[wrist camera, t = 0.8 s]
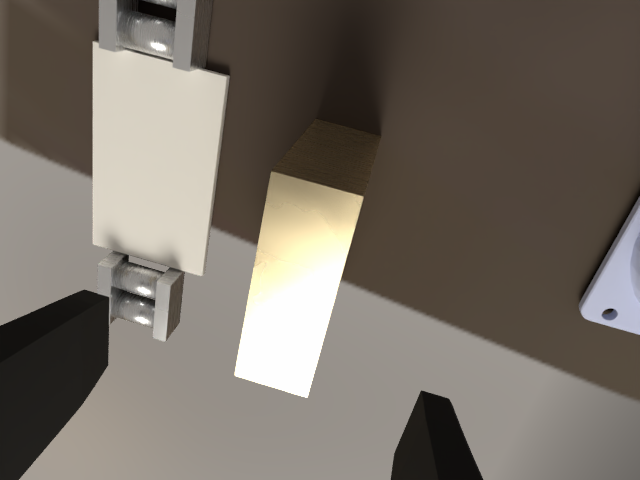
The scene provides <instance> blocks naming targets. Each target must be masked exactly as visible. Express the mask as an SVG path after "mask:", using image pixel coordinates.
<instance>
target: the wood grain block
mask: <svg viewBox="0 0 640 480" xmlns="http://www.w3.org/2000/svg"><path fill="white" fill-rule="evenodd" d="M380 138H381V136H379V135H375V134H371V133H367V132H364V131H360V130H356V129H352V128H349V127H345V126H341V125H337V124H334V123H330V122H326V121H323V120H319V119H315V120H314V121H313V123H312V124H311V125H310V126H309V127H308V128H307V130H306V131H305V132H304V133H303V134H302V136H301V137H300V138H299V139H298V140H297V141H296V143H295V144H294V145H293V146H292V147H291V149H290V150H289V151H288V152H287V153H286V154H285V156H284V157H283V158H282V159H281V160H280V161H279V163H278V164H277V165H276V166H275V167H274V169H273V170H272V171H271V175H270V181H269V186H268V192H267V197H266V203H265V208H264V214H263V220H262V225H261V231H260V236H259V242H258V247H257V253H256V259H255V264H254V269H253V276H252V280H251V286H250V292H249V297H248V303H247V309H246V314H245V319H244V325H243V331H242V336H241V341H240V347H239V353H238V358H237V364H236V369H235V376H237V377H241V378H244V379H247V380H251V381H254V382H257V383H260V384H264V385H267V386H270V387H274V388H277V389H280V390H284V391H287V392H290V393H293V394H297V395H300V396H303V397H307V396H308V393H309V389H310V386H311V382H312V379H313V375H314V372H315V368H316V365H317V361H318V357H319V354H320V351H321V347H322V344H323V340H324V337H325V333H326V329H327V326H328V323H329V319H330V316H331V312H332V308H333V305H334V302H335V298H336V295H337V291H338V288H339V284H340V281H341V277H342V274H343V270H344V266H345V263H346V259H347V256H348V252H349V249H350V245H351V242H352V238H353V234H354V231H355V227H356V224H357V220H358V217H359V213H360V210H361V206H362V202H363V199H364V195H365V192H366V188H367V185H368V181H369V178H370V174H371V170H372V167H373V163H374V160H375V156H376V153H377V149H378V146H379V142H380Z"/></svg>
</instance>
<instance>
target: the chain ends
mask: <svg viewBox="0 0 640 480" xmlns="http://www.w3.org/2000/svg"><path fill="white" fill-rule="evenodd" d="M143 1H147V2H151V3H155V4H159V5H162V6H166V7H170V8H174V9H177V12H176V22H175V21H171V20H167V19H163V18H159V17H155V16H151V15H148V14H144V13H140V12H138V10H139V0H99V48H101V49H105V50H109V51H112V52H120V51H125V50H130V49H134V50H138V51H141V52H145V53H149V54H153V55H157V56H160V57H164V58H168V59H172V60H173V68H176V69H180V70H184V71H188V72H191V71H194V70H197V69H200V68H203V67H206V62H207V52H208V42H209V33H210V23H211V13H212V4H213V0H143ZM128 259H129V255H127V254H124V253H120V252H117V251H113V252H112V253H111V254H109V255H108V256H107V257H106V258H105V259H103V260H102V261H101V262H100V263H98V282H97V285H98V286H97V289H98V290H97V292H98V293H97V294H101V295H104V296H107V297H109V325H110V324H111V323H112V322H113V321H114V320H115V319H116V318H120V319H124V320H127V321H130V322H133V323H137V324H140V325H143V326H147V327H150V328H153V338H154V339H158V340H161V341H164V342H166V341H167V339H168V338H169V337H170V335H171V334H172V333H173V331H174V330H175V329H176V327H177V326H178V324H179V322H180V313H181V303H182V293H183V284H184V274H185V271H182V270H179V269H175V268H172V267H170V268H169V269H168V270H167V271H166V272H162V271H158V270H155V269H151V268H148V267H144V266H141V265H138V264H134V263H131V262H128V261H129V260H128ZM127 291H129V292H127ZM130 292H133V293H136V294H133V293H130ZM137 294H140V295H143V296H146V297H143V296H140V295H137ZM147 297H150V298H153V299H156V300H153V299H150V298H147Z"/></svg>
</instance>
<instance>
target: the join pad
mask: <svg viewBox="0 0 640 480" xmlns="http://www.w3.org/2000/svg"><path fill="white" fill-rule="evenodd" d="M229 78H230V76H229V75H225V74H221V73H218V72H214V71H210V70H206V69H203V68H200V69H197V70H194V71H191V72H188V71H184V70H180V69H176V68H173V61H172V60H169V59H165V58H161V57H157V56H153V55H150V54H146V53H142V52H138V51H134V50H131V49H130V50H125V51H120V52H112V51H109V50H105V49H101V48H99V41H93V245H97V246H100V247H103V248H107V249H110V250H114V251H117V252H120V253H124V254H127V255H131V256H134V257H138V258H141V259H144V260H148V261H152V262H155V263H159V264H161V265H165V266H168V267H172V268H175V269H179V270H182V271H186V272H189V273H192V274H196V275H199V276H203V275H204V273H205V268H206V260H207V252H208V245H209V237H210V229H211V221H212V213H213V205H214V197H215V189H216V181H217V173H218V165H219V157H220V150H221V142H222V134H223V126H224V118H225V110H226V102H227V94H228V86H229Z"/></svg>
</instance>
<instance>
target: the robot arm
mask: <svg viewBox="0 0 640 480" xmlns="http://www.w3.org/2000/svg"><path fill="white" fill-rule="evenodd" d="M609 308H612V309H614V310H613V311H612V312H611V313H609V314H602V312H603V311H604V310H606V309H609ZM579 310H580V312H581V314H582V316H583V317H584V318H585V319H587V320H589V321H593V322H597V323H600V324H604V325H607V326H611V327H614V328H618V329H621V330H625V331H628V332H632V333H635V334H639V335H640V197H639V198H638V200H637V202H636V204H635V205H634V207H633V209H632V211H631V212H630V214H629V216H628V218H627V220H626V221H625V223H624V225H623V227H622V228H621V230H620V232H619V234H618V235H617V237H616V239H615V241H614V242H613V244H612V246H611V248H610V250H609V251H608V253H607V255H606V257H605V258H604V260H603V262H602V264H601V265H600V267H599V269H598V271H597V272H596V274H595V276H594V278H593V280H592V281H591V283H590V285H589V287H588V288H587V290H586V292H585V294H584V295H583V297H582V299H581V301H580V303H579ZM108 341H109V297H107V296H104V295H101V294H97V293H94V292H91V291H87V290H82V291H80V292H77V293H75V294H72V295H70V296H68V297H65V298H63V299H61V300H58V301H56V302H54V303H51V304H49V305H47V306H45V307H43V308H40V309H38V310H36V311H34V312H31V313H29V314H27V315H24V316H22V317H20V318H17V319H15V320H13V321H11V322H8V323H6V324H4V325H1V326H0V480H19V479H20V478H21V476H22V475H23V474H24V473H25V472H26V470H27V469H28V468H29V467H30V466H31V465H32V464H33V462H34V461H35V460H36V459H37V458H38V456H39V455H40V454H41V453H42V452H43V450H44V449H45V448H46V447H47V446H48V445H49V444H50V442H51V441H52V440H53V439H54V438H55V437H56V435H57V434H58V433H59V432H60V431H61V429H62V428H63V427H64V426H65V425H66V423H67V422H68V421H69V420H70V419H71V417H72V416H73V415H74V414H75V413H76V411H77V410H78V409H79V408H80V407H81V405H82V404H83V403H84V401H85V400H86V398H87V397H88V395H89V394H90V392H91V391H92V389H93V388H94V387H95V385H96V383H97V382H98V380H99V379H100V377H101V375H102V374H103V372H104V371H105V369H106V368H107V366H108V345H109V342H108ZM391 480H483V478H482V476H481V473H480V471H479V469H478V467H477V464H476V462H475V460H474V458H473V455H472V453H471V451H470V448H469V446H468V444H467V441H466V439H465V436H464V434H463V431H462V429H461V426H460V424H459V421H458V419H457V416H456V414H455V411H454V408H453V406H452V403H451V402H450V400H449V399H448V398H445V397H442V396H438V395H435V394H431V393H428V392H425V391H421V392H420V394H419V397H418V399H417V401H416V404H415V406H414V409H413V411H412V413H411V416H410V418H409V420H408V423H407V425H406V427H405V430H404V432H403V434H402V437H401V439H400V441H399V444H398V446H397V448H396V451H395V453H394V460H393V467H392V475H391Z"/></svg>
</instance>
